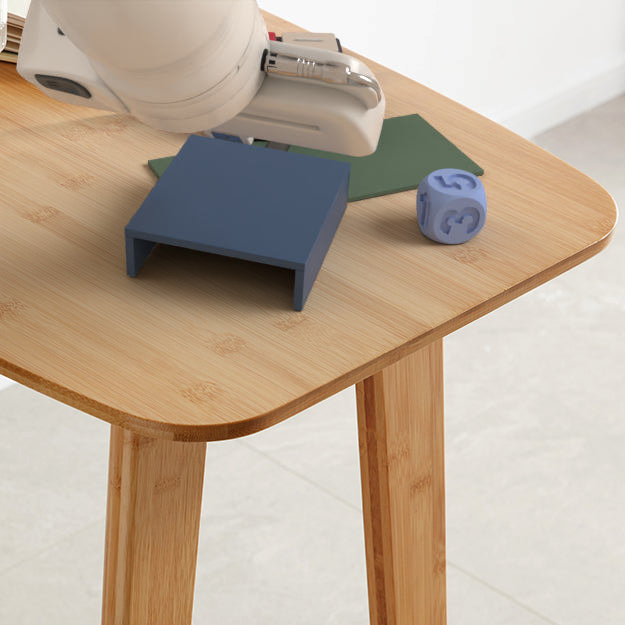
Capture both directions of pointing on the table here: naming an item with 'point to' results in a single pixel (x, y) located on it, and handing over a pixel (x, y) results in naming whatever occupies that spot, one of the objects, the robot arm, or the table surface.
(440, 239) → the decorative dice
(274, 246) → the dustpan
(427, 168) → the mat
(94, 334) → the table surface
